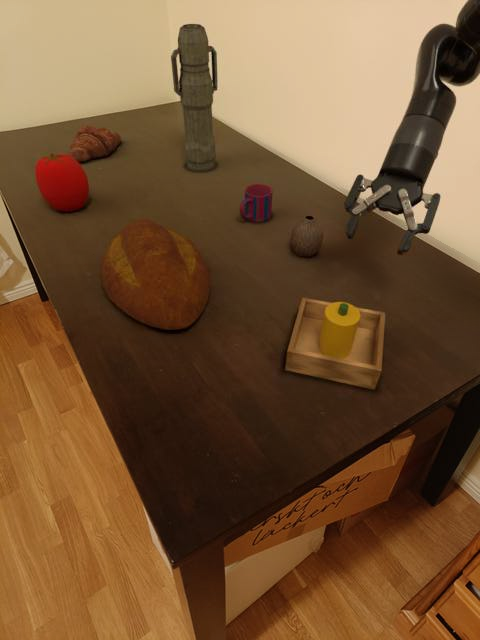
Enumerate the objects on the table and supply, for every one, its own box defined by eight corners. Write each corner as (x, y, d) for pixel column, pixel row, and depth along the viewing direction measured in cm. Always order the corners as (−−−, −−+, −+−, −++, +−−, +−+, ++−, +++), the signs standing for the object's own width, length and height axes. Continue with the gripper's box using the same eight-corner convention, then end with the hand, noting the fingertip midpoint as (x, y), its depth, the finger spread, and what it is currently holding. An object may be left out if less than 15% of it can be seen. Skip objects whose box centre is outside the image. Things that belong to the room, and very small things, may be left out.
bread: (119, 354, 74) (103, 300, 65) (94, 252, 96) (79, 201, 87) (233, 323, 79) (232, 269, 71) (185, 233, 101) (179, 184, 93)
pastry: (74, 143, 141) (67, 118, 135) (122, 140, 143) (117, 114, 137) (69, 165, 129) (61, 138, 123) (121, 161, 131) (115, 134, 125)
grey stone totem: (176, 164, 129) (162, 25, 105) (211, 155, 133) (204, 20, 109) (189, 175, 124) (177, 31, 99) (225, 166, 128) (221, 26, 104)
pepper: (352, 339, 75) (363, 297, 69) (349, 362, 71) (360, 321, 65) (321, 332, 76) (328, 291, 70) (316, 355, 72) (323, 314, 66)
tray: (379, 331, 78) (385, 312, 74) (374, 390, 68) (381, 370, 65) (299, 316, 81) (302, 297, 77) (285, 370, 71) (287, 350, 68)
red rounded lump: (35, 214, 108) (14, 158, 98) (61, 193, 116) (44, 140, 106) (78, 221, 105) (62, 165, 95) (102, 200, 113) (89, 146, 103)
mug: (276, 215, 107) (278, 190, 103) (248, 230, 102) (249, 204, 98) (257, 205, 111) (258, 181, 106) (229, 220, 106) (228, 194, 101)
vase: (326, 251, 96) (332, 216, 90) (308, 264, 92) (313, 229, 86) (301, 239, 99) (305, 205, 93) (283, 252, 96) (286, 217, 90)
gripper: (368, 133, 69) (330, 227, 70) (460, 151, 64) (417, 253, 65) (371, 153, 76) (337, 239, 77) (455, 172, 71) (417, 264, 72)
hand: (374, 245), depth 71 cm, fingers open, 8 cm apart
